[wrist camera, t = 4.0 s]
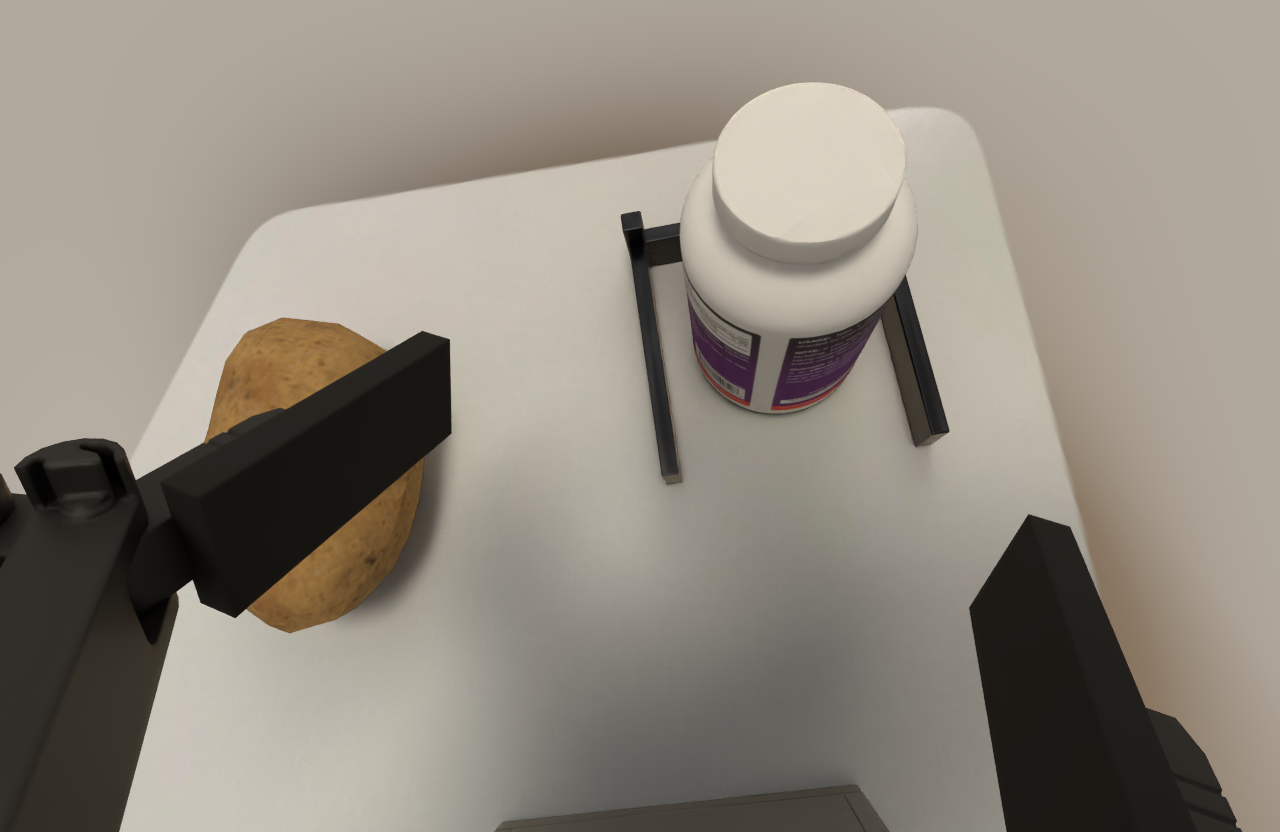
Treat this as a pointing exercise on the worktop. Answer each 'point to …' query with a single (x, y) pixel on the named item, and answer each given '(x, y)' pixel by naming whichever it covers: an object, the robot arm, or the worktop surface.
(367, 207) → the worktop surface
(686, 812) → the grey open square box
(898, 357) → the u-shaped frame
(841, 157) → the pill bottle
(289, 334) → the potato
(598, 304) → the worktop surface
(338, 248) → the worktop surface
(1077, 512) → the worktop surface
